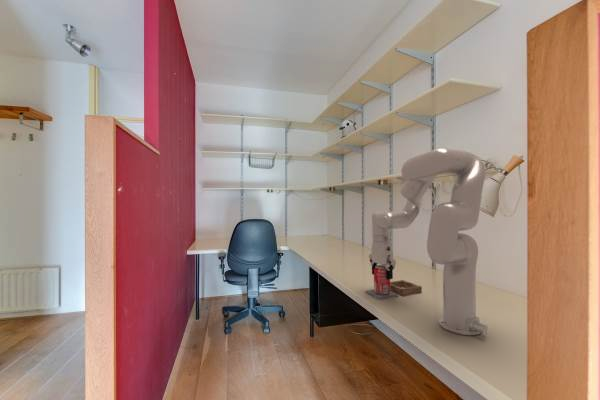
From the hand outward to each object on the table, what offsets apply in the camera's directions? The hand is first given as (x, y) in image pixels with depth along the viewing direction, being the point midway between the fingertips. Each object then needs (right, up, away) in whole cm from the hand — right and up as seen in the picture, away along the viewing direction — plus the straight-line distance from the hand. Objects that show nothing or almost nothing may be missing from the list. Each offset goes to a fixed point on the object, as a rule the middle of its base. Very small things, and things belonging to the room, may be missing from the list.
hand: (382, 276), depth 122 cm
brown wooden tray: (+12, -8, +5) cm, 15 cm away
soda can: (0, -8, 0) cm, 8 cm away
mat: (0, -9, 0) cm, 9 cm away
